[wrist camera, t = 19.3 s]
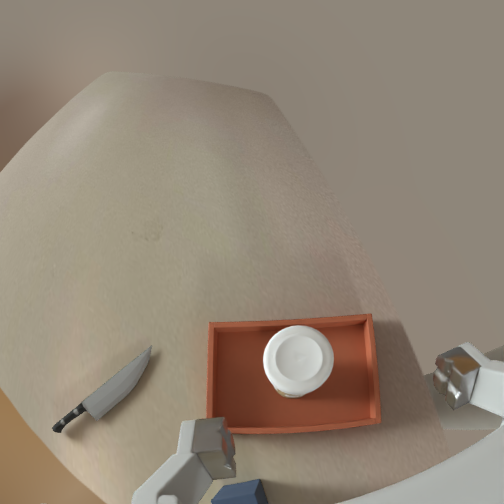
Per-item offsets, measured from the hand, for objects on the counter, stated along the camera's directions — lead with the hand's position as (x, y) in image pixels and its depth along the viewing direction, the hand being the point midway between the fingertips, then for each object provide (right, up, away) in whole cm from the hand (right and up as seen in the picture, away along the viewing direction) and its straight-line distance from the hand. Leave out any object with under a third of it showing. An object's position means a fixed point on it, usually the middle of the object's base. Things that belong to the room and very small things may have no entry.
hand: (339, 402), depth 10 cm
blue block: (-4, -20, +15) cm, 25 cm away
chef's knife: (-21, -13, +21) cm, 32 cm away
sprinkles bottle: (+1, -8, +21) cm, 22 cm away
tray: (+1, -8, +21) cm, 22 cm away
